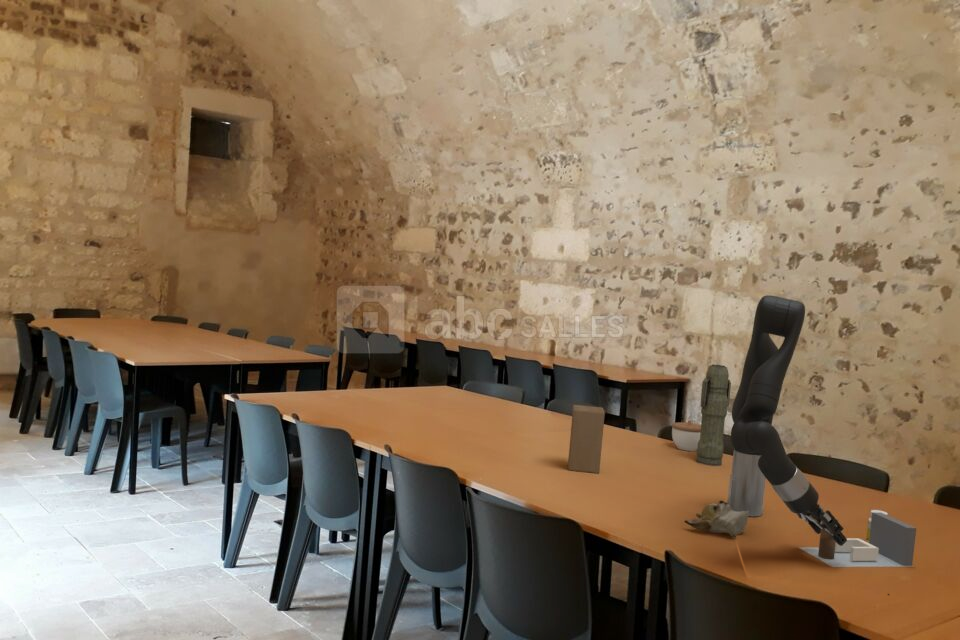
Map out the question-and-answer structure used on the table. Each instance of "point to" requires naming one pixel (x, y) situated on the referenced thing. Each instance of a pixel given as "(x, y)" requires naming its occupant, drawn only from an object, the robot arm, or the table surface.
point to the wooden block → (586, 439)
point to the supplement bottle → (870, 521)
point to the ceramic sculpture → (720, 519)
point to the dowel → (826, 545)
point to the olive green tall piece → (713, 415)
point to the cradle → (858, 550)
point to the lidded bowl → (686, 435)
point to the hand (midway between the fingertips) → (831, 536)
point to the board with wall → (880, 545)
